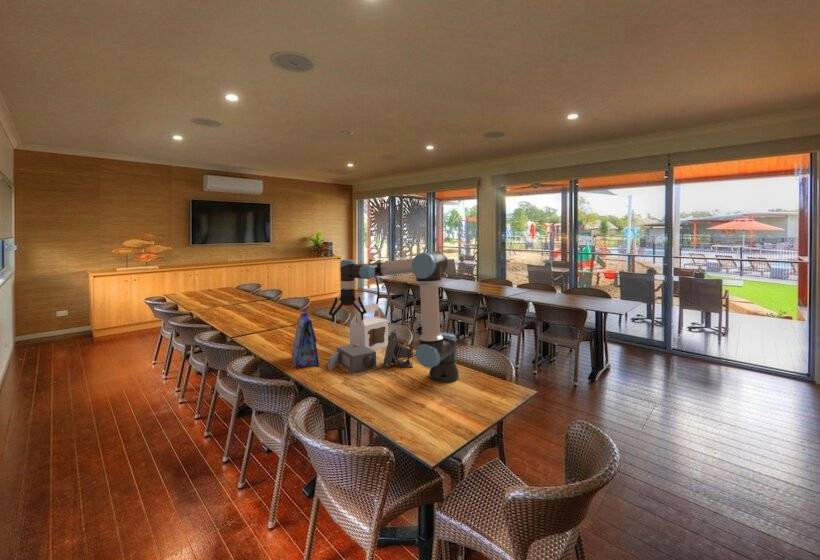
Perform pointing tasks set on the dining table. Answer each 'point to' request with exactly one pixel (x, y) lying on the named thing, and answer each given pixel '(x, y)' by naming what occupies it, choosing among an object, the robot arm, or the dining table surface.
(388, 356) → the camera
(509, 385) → the dining table surface
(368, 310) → the gable box
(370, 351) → the box
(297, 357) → the lunch bag
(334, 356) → the side door
